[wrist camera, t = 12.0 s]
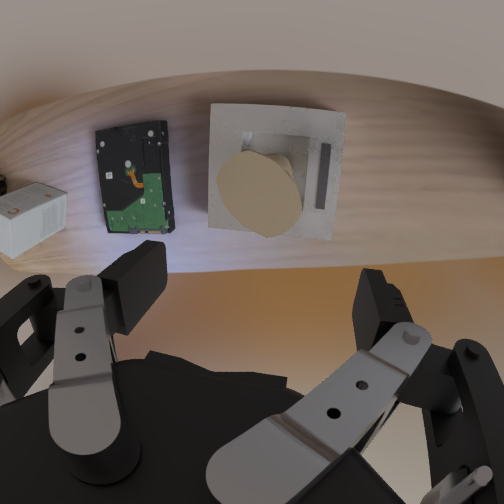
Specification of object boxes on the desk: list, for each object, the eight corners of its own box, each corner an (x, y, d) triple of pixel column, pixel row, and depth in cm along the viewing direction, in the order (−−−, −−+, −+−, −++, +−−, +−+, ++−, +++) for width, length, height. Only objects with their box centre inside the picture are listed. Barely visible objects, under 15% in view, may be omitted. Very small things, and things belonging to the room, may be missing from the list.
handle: (279, 201, 36) (263, 249, 23) (243, 160, 35) (203, 183, 22) (311, 175, 35) (316, 208, 21) (274, 132, 33) (253, 136, 20)
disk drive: (105, 129, 38) (116, 228, 44) (93, 131, 35) (106, 234, 41) (169, 119, 36) (178, 228, 42) (159, 119, 34) (170, 235, 39)
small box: (36, 215, 45) (-17, 242, 33) (37, 181, 42) (-20, 203, 31) (66, 228, 45) (12, 260, 33) (68, 192, 42) (9, 218, 30)
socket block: (221, 105, 34) (210, 103, 30) (341, 114, 32) (346, 112, 28) (218, 216, 40) (207, 227, 35) (328, 227, 38) (331, 241, 34)
